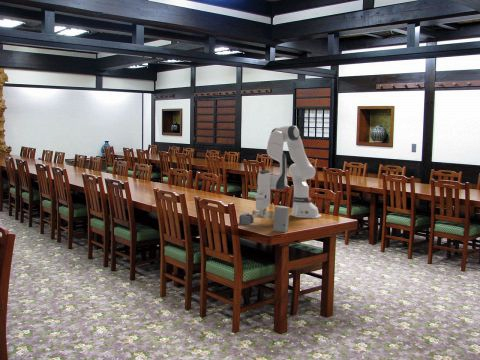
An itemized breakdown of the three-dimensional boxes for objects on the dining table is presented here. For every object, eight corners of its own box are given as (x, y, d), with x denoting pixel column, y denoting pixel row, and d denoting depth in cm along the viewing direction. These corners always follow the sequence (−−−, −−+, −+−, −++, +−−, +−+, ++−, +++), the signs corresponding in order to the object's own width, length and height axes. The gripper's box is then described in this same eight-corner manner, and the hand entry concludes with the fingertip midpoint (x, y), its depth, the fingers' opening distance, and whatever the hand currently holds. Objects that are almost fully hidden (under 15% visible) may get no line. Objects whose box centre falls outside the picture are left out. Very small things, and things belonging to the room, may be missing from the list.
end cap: (253, 222, 349) (253, 213, 349) (249, 224, 341) (249, 215, 340) (243, 221, 352) (244, 212, 351) (239, 223, 343) (239, 214, 343)
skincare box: (272, 231, 322) (273, 206, 320) (276, 229, 328) (277, 205, 327) (285, 232, 319) (286, 207, 317) (289, 230, 325) (289, 206, 323)
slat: (252, 217, 342) (252, 210, 342) (254, 216, 346) (254, 209, 346) (272, 219, 337) (272, 212, 337) (273, 218, 341) (274, 211, 341)
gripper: (264, 192, 351) (263, 212, 352) (254, 196, 332) (253, 216, 333) (272, 193, 349) (272, 213, 350) (263, 196, 330) (262, 217, 331)
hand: (263, 215), depth 342 cm, fingers closed on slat, 4 cm apart
